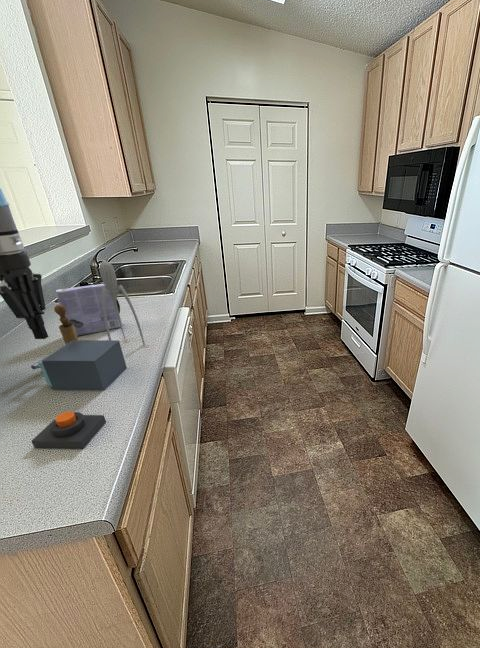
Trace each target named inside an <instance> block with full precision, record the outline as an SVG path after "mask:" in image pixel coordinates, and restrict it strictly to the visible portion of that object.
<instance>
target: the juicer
mask: <svg viewBox="0 0 480 648" xmlns="http://www.w3.org/2000/svg"><path fill="white" fill-rule="evenodd" d="M98 267H99V268H98V269H99V274H100V278H101V280H102V284H104V285H105V287H106V289H105V288H102V308H103V315H104V321H105V326H106V330H105V331H106V335H107V337H108V340H112V338H111V333H110V329H109V327H108V322H107V316H106V293H109V294H110V296H111V297H112V300H113V304H114V307H115V310H116V314H117V317H118V320H119V323H120V330H121V333H122V336H123V339H124V341H126V336H125V332H124V328H123V323H122V324H121V322H122V319H120V318H121V315H120V314H119V311H118V307H117V302H116V301H117V299H118V292H121V293H122V295H123V297H124V299H125V300H126V302H127V304H128V306H129V308H130V310H131V311H132V312H131V313H132V314H133V317H134V320H135V322H136V325H137V328H138V331H139V335H140V339H141V341H142V345H143V346H145V345H146V343H145V340H144V339H145V338H144V335H143V332H142V327H141V324H140V322H139V318H138V315H137V313H136V311H135V308H134V305H133V303H132V301H131V299H130V297H129V295H128V293H127V291H126V290H125V288H124V287H123V285H122V284H119V285H118V280H117V275H116V271H115V269H114V268H115V267H114V266H113V265H112V264H111V262H109V261H107V260H103V261H101V262H100V264H99V266H98Z"/></svg>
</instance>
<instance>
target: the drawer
mask: <svg viewBox="0 0 480 648" xmlns="http://www.w3.org/2000/svg"><path fill="white" fill-rule="evenodd" d="M64 345H66V344H65V343H64ZM64 345H63V346H64ZM63 346H61V347H63ZM61 347H59V348H58V349H60V348H61ZM58 349H56V350H55V351H57V350H58ZM55 351H53V352H52V353H54V352H55ZM52 353H48V354H47V355H45V356H43V357H42V358H41V359H39V360H37V361H35V362H34V363H33V364H32V365H31V366H30V368H31V369H32V370H37V369H40V370H41V372H42V374H43V377H44V380H45V382H46V383H47V386H48V387H52V385H51V382H50V380H49V377H48V375H47V373H46V370H45V368H44V365H43V363H42V360H43V359H45V358H46V357H48V356H49V355H51V354H52Z"/></svg>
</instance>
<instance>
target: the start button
mask: <svg viewBox="0 0 480 648" xmlns="http://www.w3.org/2000/svg"><path fill="white" fill-rule="evenodd" d="M73 412H74V411H65V412H62V413H60V414H58V415H57V416H56V417H55V418H56V419H55V418H54V419H55V421H56V423H57V425H58V427H66V426H69V425H71V424H73V423H75V422H76V417H75V414H74V413H73Z"/></svg>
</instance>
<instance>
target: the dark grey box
mask: <svg viewBox="0 0 480 648" xmlns="http://www.w3.org/2000/svg"><path fill="white" fill-rule="evenodd" d="M59 348H60V349H59ZM59 348H58V349H56V350H57V351H56V350H55V351H53V352H54V353H53V352H52V353H50V354H51V355H49V356H48V357H46V358H45V359H43V360H42V363H43V365H44V368H45V370H46V373H47V375H48V377H49V380H50V382H51V385H52V386H51V387H52V390H53V391H83V392H84V391H86V392H87V391H89V392H90V391H95V392H98V391H100V392H101V391H102V392H104V391H106V390H107V388H109V387H110V386H111V385H112V384H113V383H114V381H116V379H118V378H119V376H120V375H122V374H123V373H124V371H126V369H128V367H127V363H126V360H125V356H124V353H123V350H122V346H121V342H120V340H119V339H118V340H116V339H115V340H112V339H111V340H109V339H107V340H104V339H103V340H95V339H93V340H92V339H91V340H90V339H84V340H83V339H78V340H72V341H70V342H69V343H67V344H66V345H65V344H64V345H63V347H62V346H61V347H59Z"/></svg>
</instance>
